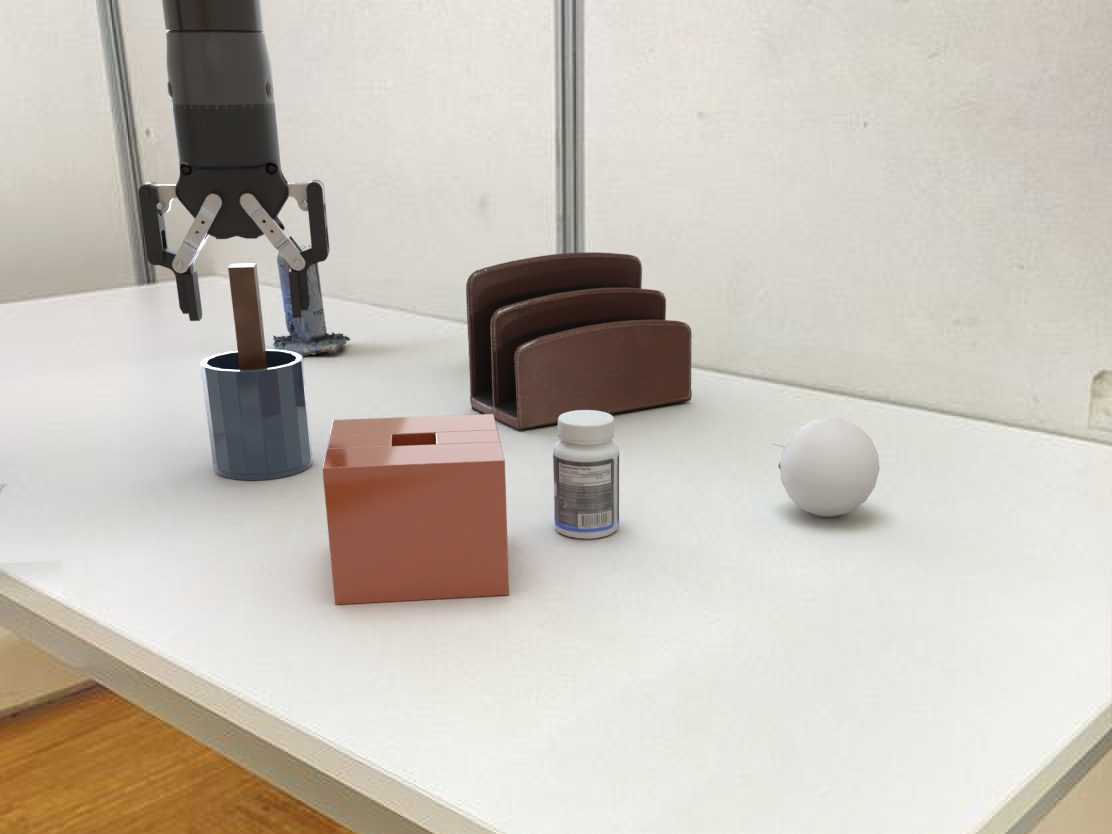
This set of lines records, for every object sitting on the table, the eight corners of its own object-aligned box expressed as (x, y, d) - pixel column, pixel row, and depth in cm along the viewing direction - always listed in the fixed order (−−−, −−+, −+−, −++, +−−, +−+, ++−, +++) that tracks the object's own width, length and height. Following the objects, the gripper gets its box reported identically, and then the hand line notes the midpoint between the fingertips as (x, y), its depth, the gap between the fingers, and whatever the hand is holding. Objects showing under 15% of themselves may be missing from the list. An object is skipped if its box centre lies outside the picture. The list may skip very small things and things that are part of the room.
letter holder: (468, 408, 123) (462, 261, 117) (636, 382, 133) (637, 244, 127) (518, 432, 115) (514, 275, 109) (692, 402, 125) (696, 257, 119)
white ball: (895, 522, 93) (905, 426, 90) (808, 536, 90) (816, 437, 87) (823, 483, 101) (830, 394, 98) (742, 494, 99) (746, 403, 96)
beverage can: (273, 360, 142) (261, 251, 138) (273, 346, 149) (262, 242, 144) (354, 356, 144) (345, 248, 140) (350, 342, 151) (342, 239, 146)
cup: (208, 482, 102) (193, 372, 98) (221, 453, 109) (208, 350, 105) (308, 478, 103) (298, 369, 99) (315, 450, 110) (305, 347, 106)
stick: (250, 463, 105) (227, 267, 98) (253, 456, 107) (230, 263, 100) (274, 462, 105) (253, 267, 99) (277, 455, 107) (256, 263, 100)
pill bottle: (570, 514, 95) (569, 405, 91) (628, 522, 93) (629, 411, 90) (543, 534, 91) (541, 421, 87) (604, 544, 89) (604, 428, 86)
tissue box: (334, 604, 79) (322, 468, 75) (343, 543, 89) (332, 419, 85) (509, 595, 80) (504, 460, 77) (498, 535, 90) (493, 413, 87)
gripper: (323, 96, 99) (340, 307, 105) (134, 97, 97) (163, 311, 103) (316, 99, 92) (335, 324, 98) (113, 100, 90) (146, 329, 97)
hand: (247, 317), depth 101 cm, fingers open, 7 cm apart
